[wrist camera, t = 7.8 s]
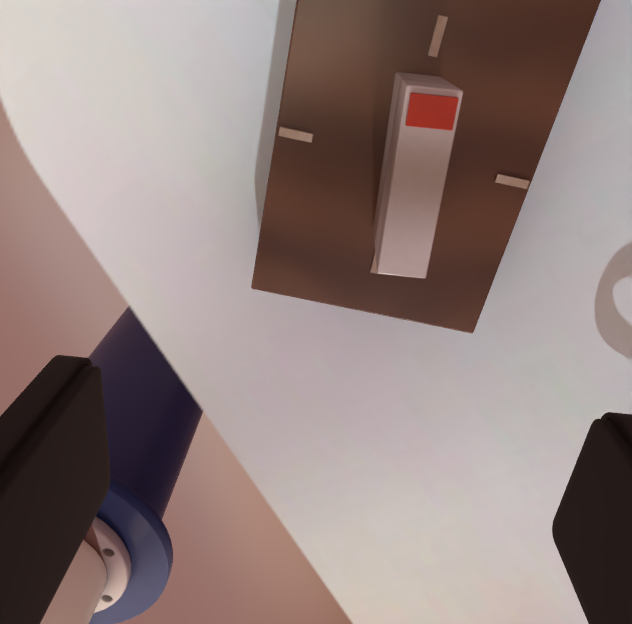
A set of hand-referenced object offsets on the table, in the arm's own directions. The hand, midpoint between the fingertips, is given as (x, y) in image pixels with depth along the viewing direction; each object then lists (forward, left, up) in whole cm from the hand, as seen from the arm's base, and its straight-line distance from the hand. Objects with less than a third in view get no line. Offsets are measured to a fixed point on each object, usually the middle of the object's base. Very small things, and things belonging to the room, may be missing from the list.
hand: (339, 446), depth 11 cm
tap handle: (+3, -2, -16) cm, 16 cm away
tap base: (+3, -2, -19) cm, 19 cm away
